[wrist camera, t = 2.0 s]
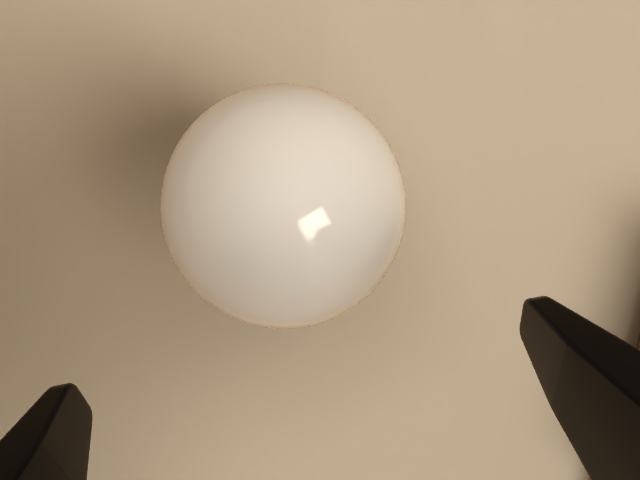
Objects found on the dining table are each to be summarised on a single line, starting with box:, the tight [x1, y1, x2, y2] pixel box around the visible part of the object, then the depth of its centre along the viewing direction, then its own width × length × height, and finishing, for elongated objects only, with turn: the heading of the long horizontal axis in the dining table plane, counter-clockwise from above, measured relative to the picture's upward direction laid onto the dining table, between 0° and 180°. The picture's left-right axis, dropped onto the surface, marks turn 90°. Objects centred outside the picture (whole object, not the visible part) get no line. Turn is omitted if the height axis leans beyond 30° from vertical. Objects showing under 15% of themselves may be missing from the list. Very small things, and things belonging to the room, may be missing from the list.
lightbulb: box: [161, 84, 406, 329], centre depth 15 cm, size 6×6×11 cm
